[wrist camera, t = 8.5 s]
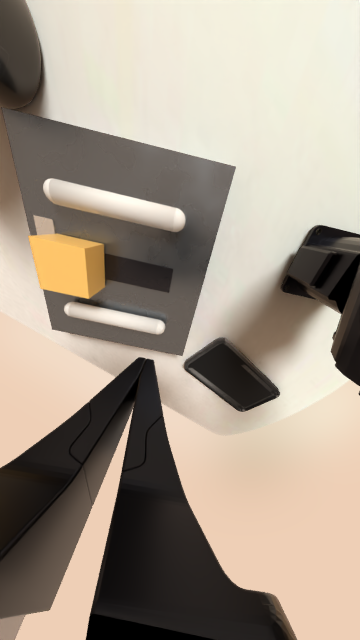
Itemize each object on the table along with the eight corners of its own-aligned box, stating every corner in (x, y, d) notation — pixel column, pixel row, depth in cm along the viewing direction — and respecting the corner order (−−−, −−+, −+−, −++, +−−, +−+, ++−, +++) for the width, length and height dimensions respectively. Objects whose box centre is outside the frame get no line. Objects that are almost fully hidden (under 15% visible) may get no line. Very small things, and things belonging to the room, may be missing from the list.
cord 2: (187, 211, 13) (187, 209, 12) (183, 233, 14) (182, 234, 13) (52, 178, 13) (34, 173, 11) (55, 203, 14) (39, 201, 12)
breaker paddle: (103, 244, 15) (84, 248, 12) (105, 287, 17) (88, 298, 14) (57, 233, 14) (28, 235, 12) (64, 278, 16) (40, 288, 14)
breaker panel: (228, 177, 14) (236, 166, 12) (183, 341, 23) (182, 356, 21) (38, 129, 14) (0, 106, 11) (68, 317, 23) (51, 329, 20)
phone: (241, 413, 29) (181, 366, 25) (239, 407, 30) (181, 361, 26) (283, 394, 26) (224, 337, 22) (280, 388, 27) (222, 332, 23)
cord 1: (167, 318, 18) (165, 326, 17) (165, 330, 19) (162, 338, 18) (69, 297, 18) (59, 304, 16) (71, 310, 19) (61, 317, 17)
